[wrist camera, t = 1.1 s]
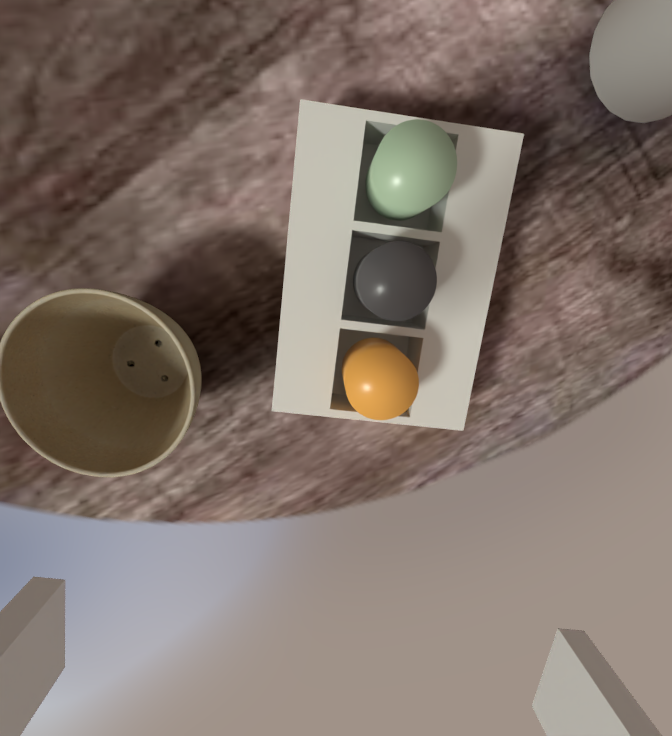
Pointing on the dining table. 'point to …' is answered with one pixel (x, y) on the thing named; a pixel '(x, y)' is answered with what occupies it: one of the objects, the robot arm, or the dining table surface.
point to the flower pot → (98, 381)
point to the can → (634, 59)
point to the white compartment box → (369, 231)
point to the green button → (411, 170)
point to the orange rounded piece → (379, 379)
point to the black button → (395, 280)
